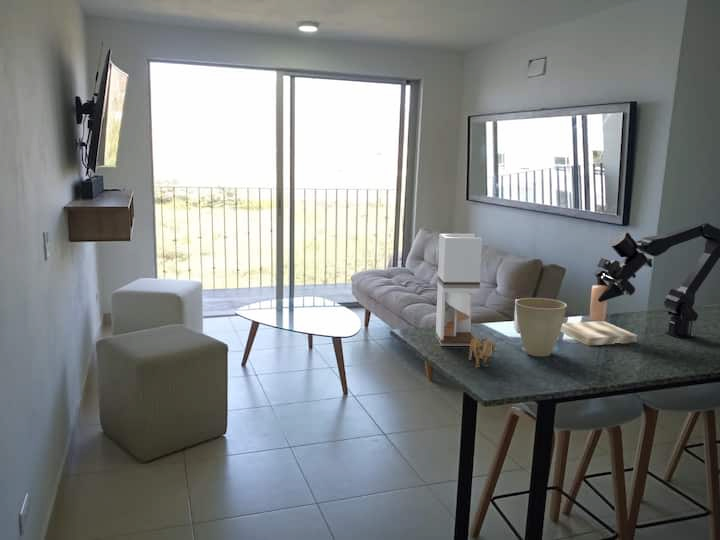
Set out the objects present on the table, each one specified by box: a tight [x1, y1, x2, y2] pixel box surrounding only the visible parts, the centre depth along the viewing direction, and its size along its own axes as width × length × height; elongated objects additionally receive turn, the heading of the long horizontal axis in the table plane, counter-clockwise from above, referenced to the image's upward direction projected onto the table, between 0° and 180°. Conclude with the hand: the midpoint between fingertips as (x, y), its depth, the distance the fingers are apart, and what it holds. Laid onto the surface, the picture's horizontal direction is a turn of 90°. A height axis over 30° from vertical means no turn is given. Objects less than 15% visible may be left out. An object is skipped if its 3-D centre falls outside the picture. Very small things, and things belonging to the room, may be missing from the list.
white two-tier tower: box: [435, 233, 483, 347], centre depth 187 cm, size 11×11×35 cm
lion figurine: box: [466, 337, 499, 368], centre depth 169 cm, size 15×5×9 cm, turn 16°
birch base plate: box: [560, 320, 638, 346], centre depth 198 cm, size 18×18×2 cm
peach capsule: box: [589, 284, 608, 321], centre depth 196 cm, size 5×5×11 cm
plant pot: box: [516, 297, 567, 358], centre depth 178 cm, size 15×15×16 cm
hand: (595, 299), depth 196 cm, fingers closed on peach capsule, 5 cm apart
